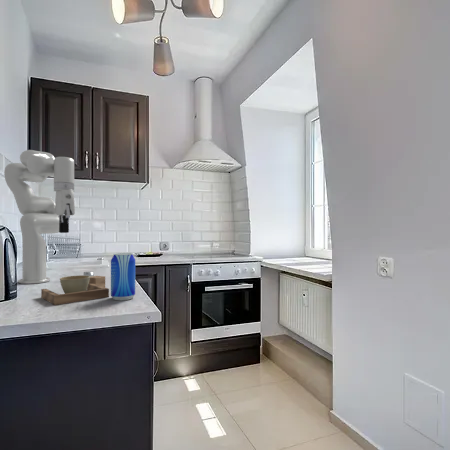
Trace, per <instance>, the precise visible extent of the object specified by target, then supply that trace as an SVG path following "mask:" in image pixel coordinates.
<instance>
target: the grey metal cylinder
mask: <svg viewBox="0 0 450 450" xmlns="http://www.w3.org/2000/svg"><path fill="white" fill-rule="evenodd" d="M94 274H95V272H94V271H84V272H83V275H85V276H90V277H92V276H95V275H94Z"/></svg>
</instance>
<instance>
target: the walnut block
mask: <svg viewBox="0 0 450 450" xmlns="http://www.w3.org/2000/svg"><path fill="white" fill-rule="evenodd" d="M90 283H93V284H96V285H99V286H102V287H105V288H106V276H103V275H94V276H92V277H90V280H89V284H90ZM86 291H88V287H87V289H86Z"/></svg>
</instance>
